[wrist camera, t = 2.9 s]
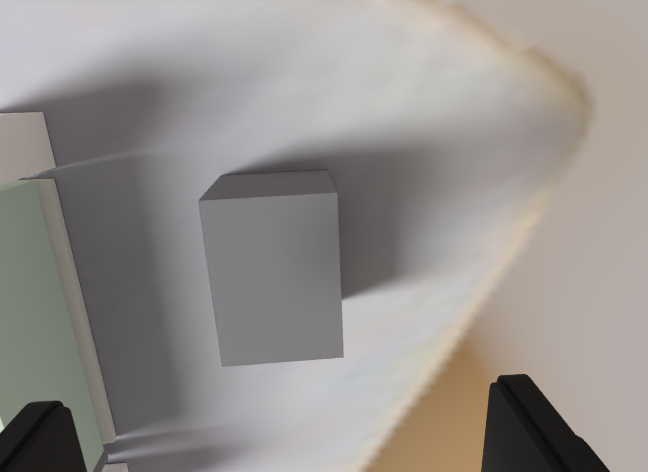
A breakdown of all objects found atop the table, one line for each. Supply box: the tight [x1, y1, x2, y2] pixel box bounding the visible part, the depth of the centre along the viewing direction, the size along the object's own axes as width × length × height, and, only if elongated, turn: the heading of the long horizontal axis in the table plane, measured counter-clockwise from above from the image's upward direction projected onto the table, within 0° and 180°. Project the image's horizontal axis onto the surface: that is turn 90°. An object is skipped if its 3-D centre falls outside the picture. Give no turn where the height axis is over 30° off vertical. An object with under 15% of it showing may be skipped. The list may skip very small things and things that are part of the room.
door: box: [0, 180, 108, 472], centre depth 19 cm, size 16×1×6 cm, turn 2°
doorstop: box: [198, 169, 344, 367], centre depth 19 cm, size 7×5×5 cm
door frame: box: [0, 112, 129, 472], centre depth 18 cm, size 22×2×8 cm, turn 2°
